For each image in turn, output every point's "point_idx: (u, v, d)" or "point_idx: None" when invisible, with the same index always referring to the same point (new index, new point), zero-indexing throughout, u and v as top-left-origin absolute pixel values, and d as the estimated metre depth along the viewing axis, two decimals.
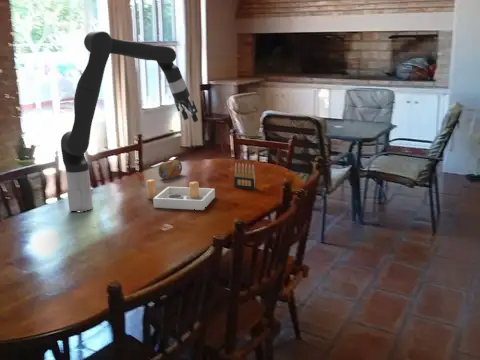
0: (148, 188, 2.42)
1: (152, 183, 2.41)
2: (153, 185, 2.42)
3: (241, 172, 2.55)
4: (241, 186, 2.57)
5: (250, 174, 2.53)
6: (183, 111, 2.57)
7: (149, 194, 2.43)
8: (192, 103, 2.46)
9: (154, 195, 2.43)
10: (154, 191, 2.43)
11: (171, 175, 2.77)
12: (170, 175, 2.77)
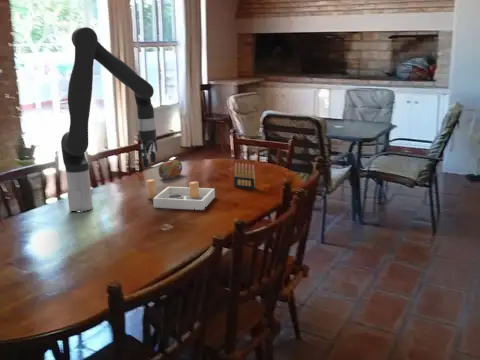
0: (148, 188, 2.42)
1: (152, 183, 2.41)
2: (153, 185, 2.42)
3: (241, 172, 2.55)
4: (241, 186, 2.57)
5: (250, 174, 2.53)
6: (152, 153, 2.44)
7: (149, 194, 2.43)
8: (142, 147, 2.32)
9: (154, 195, 2.43)
10: (154, 191, 2.43)
11: (171, 175, 2.77)
12: (170, 175, 2.77)
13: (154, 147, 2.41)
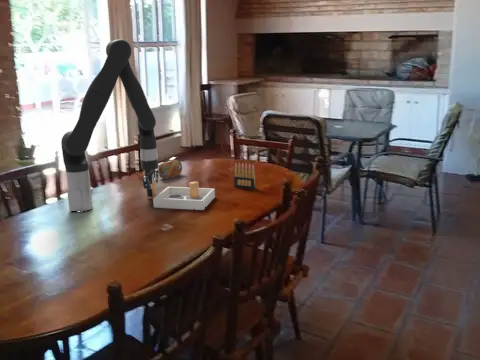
0: None
1: None
2: (153, 185, 2.42)
3: (241, 172, 2.55)
4: (241, 186, 2.57)
5: (250, 174, 2.53)
6: None
7: None
8: (145, 180, 2.36)
9: (153, 195, 2.43)
10: (154, 191, 2.43)
11: (171, 175, 2.77)
12: (170, 175, 2.77)
13: (155, 177, 2.44)
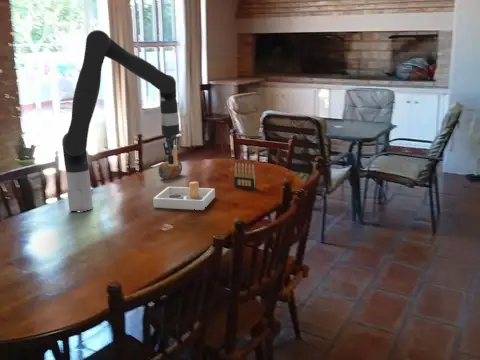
0: None
1: None
2: (174, 152, 2.31)
3: (241, 172, 2.55)
4: (241, 186, 2.57)
5: (250, 174, 2.53)
6: None
7: None
8: (166, 145, 2.26)
9: (175, 162, 2.33)
10: (175, 158, 2.32)
11: (171, 175, 2.77)
12: (170, 175, 2.77)
13: (176, 144, 2.33)
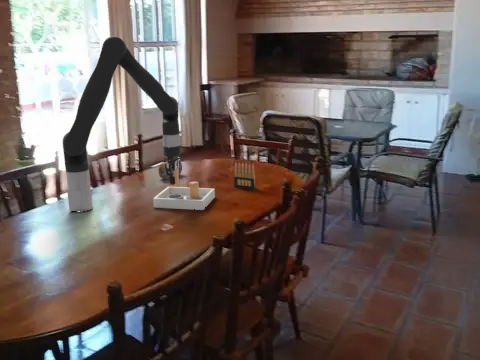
0: None
1: None
2: (176, 172, 2.33)
3: (241, 172, 2.55)
4: (241, 186, 2.57)
5: (250, 174, 2.53)
6: None
7: None
8: (168, 166, 2.28)
9: (176, 183, 2.35)
10: (177, 178, 2.34)
11: None
12: None
13: (178, 164, 2.35)
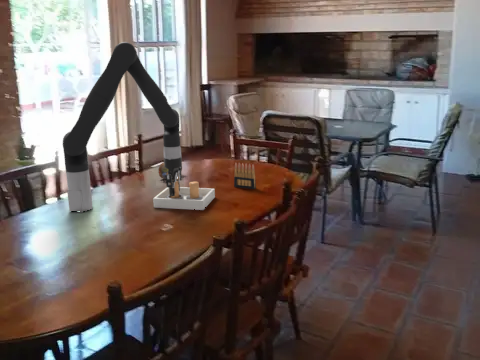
0: None
1: (175, 184, 2.34)
2: (176, 186, 2.35)
3: (241, 172, 2.55)
4: (241, 186, 2.57)
5: (250, 174, 2.53)
6: None
7: (172, 196, 2.36)
8: (168, 177, 2.29)
9: (177, 197, 2.36)
10: (177, 193, 2.36)
11: None
12: None
13: (179, 175, 2.37)
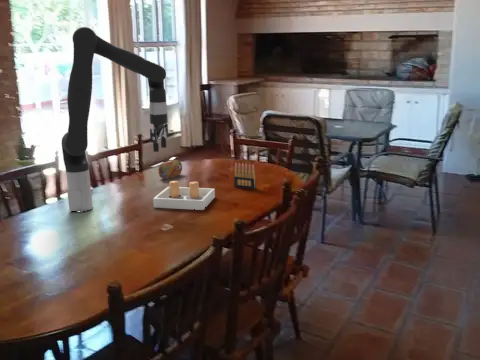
0: (171, 190, 2.35)
1: (175, 184, 2.34)
2: (176, 186, 2.35)
3: (241, 172, 2.55)
4: (241, 186, 2.57)
5: (250, 174, 2.53)
6: (163, 138, 2.39)
7: (172, 196, 2.36)
8: (153, 131, 2.28)
9: (177, 197, 2.36)
10: (177, 193, 2.36)
11: (171, 175, 2.77)
12: (170, 175, 2.77)
13: (165, 132, 2.37)
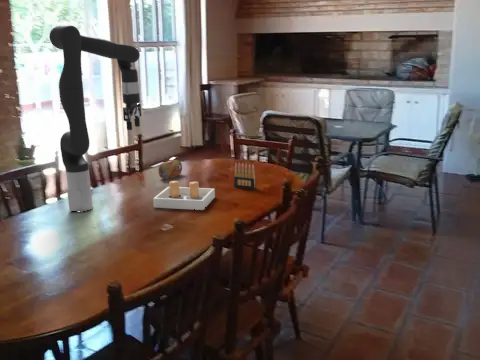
0: (171, 190, 2.35)
1: (175, 184, 2.34)
2: (176, 186, 2.35)
3: (241, 172, 2.55)
4: (241, 186, 2.57)
5: (250, 174, 2.53)
6: (136, 117, 2.49)
7: (172, 196, 2.36)
8: (126, 109, 2.38)
9: (177, 197, 2.36)
10: (177, 193, 2.36)
11: (171, 175, 2.77)
12: (170, 175, 2.77)
13: (138, 111, 2.47)
